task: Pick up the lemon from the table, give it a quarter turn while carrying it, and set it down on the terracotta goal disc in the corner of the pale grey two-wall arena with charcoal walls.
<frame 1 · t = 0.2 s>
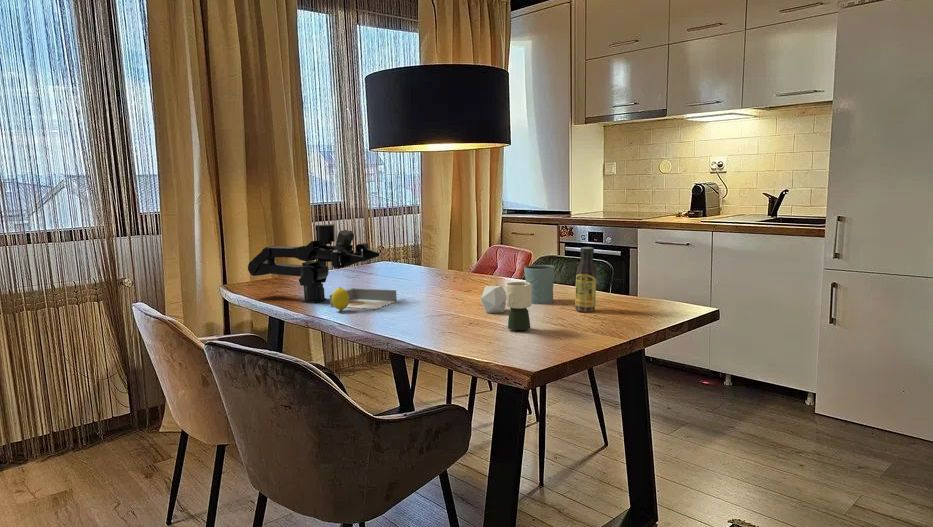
hand: (371, 256, 210), 17 cm above the table, tool horizontal, fingers open, 9 cm apart
lemon: (341, 311, 204), on the table
sauce bottle: (585, 311, 193), on the table
character mug: (519, 330, 172), on the table
arena: (363, 304, 214), on the table
die: (494, 312, 196), on the table
blue grey cup: (539, 302, 210), on the table
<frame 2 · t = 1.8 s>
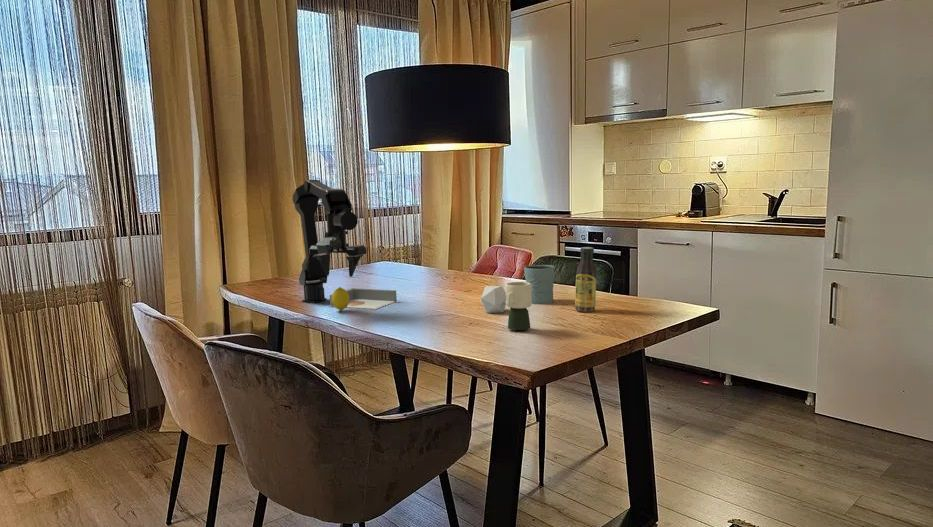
hand: (339, 276, 202), 12 cm above the table, tool pointing down, fingers open, 9 cm apart
nothing on the table moved.
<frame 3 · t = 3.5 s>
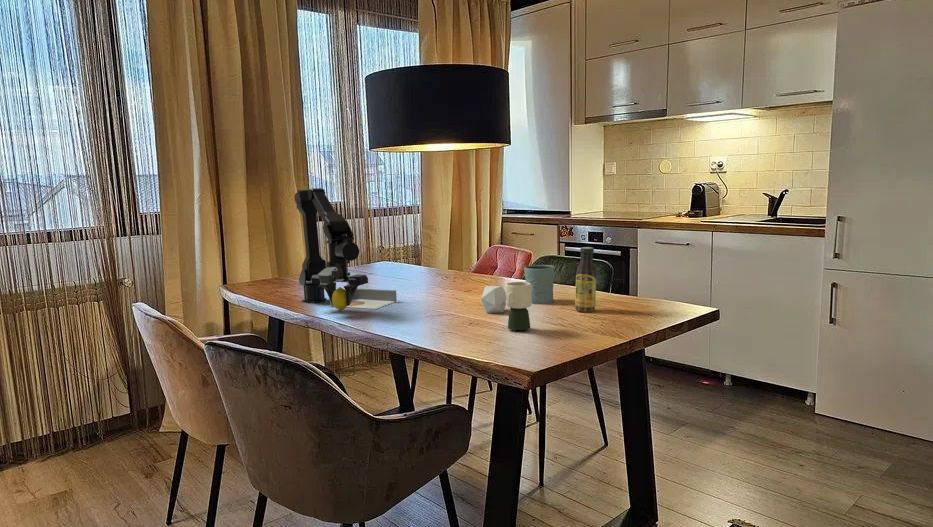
hand: (340, 305, 204), 2 cm above the table, tool pointing down, fingers closed on lemon, 5 cm apart
lemon: (341, 311, 204), on the table, touching gripper
everything else where it was.
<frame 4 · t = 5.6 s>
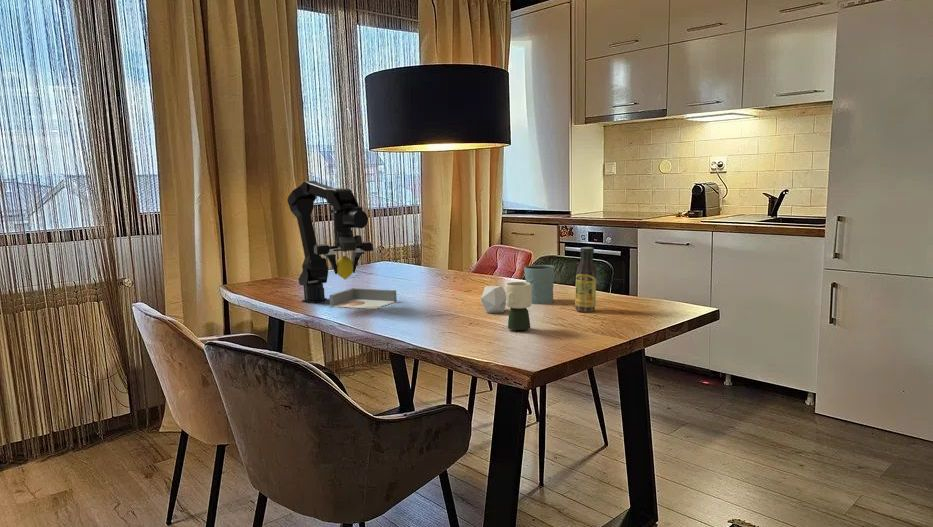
hand: (345, 273, 207), 12 cm above the table, tool pointing down, fingers closed on lemon, 5 cm apart
lemon: (345, 280, 207), point 9 cm above the table, touching gripper
everything else where it was.
when the fingers open (3 cm above the table, at t = 8.0 s): lemon stays where it is, resting on arena.
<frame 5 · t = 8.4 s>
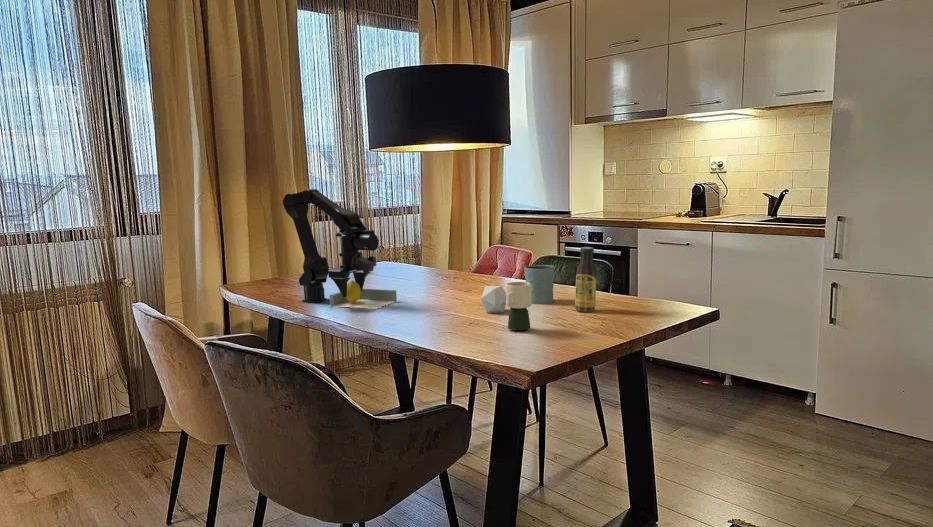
hand: (352, 294, 213), 3 cm above the table, tool pointing down, fingers open, 9 cm apart
lemon: (353, 303, 214), resting on arena
everything else where it was.
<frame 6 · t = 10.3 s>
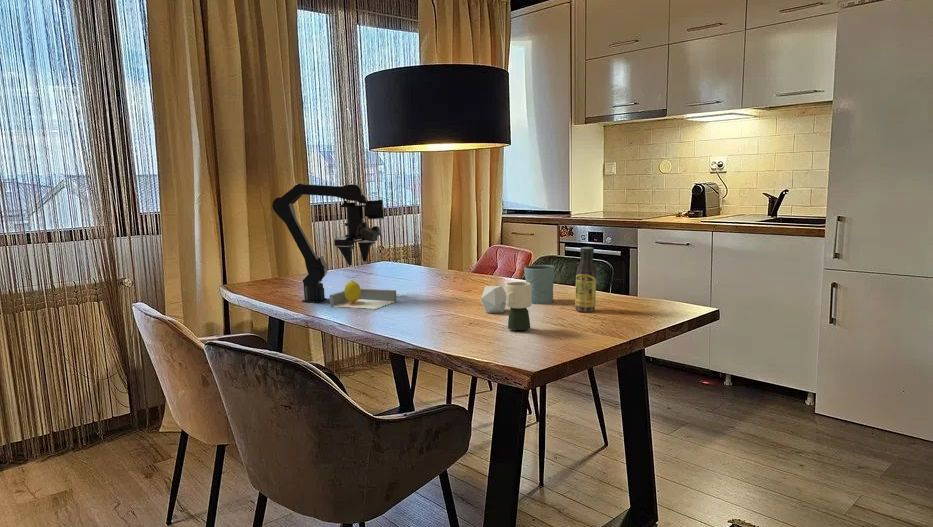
hand: (357, 263, 222), 13 cm above the table, tool pointing down, fingers open, 9 cm apart
nothing on the table moved.
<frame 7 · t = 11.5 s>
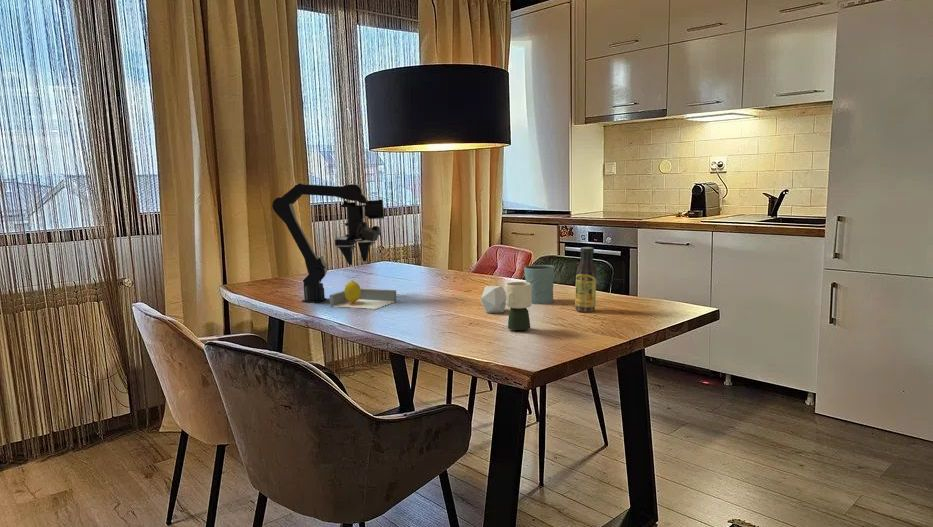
hand: (357, 263, 223), 13 cm above the table, tool pointing down, fingers open, 9 cm apart
nothing on the table moved.
at the end: lemon 0.0 cm from the target spot, resting on arena; the gripper is holding nothing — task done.
